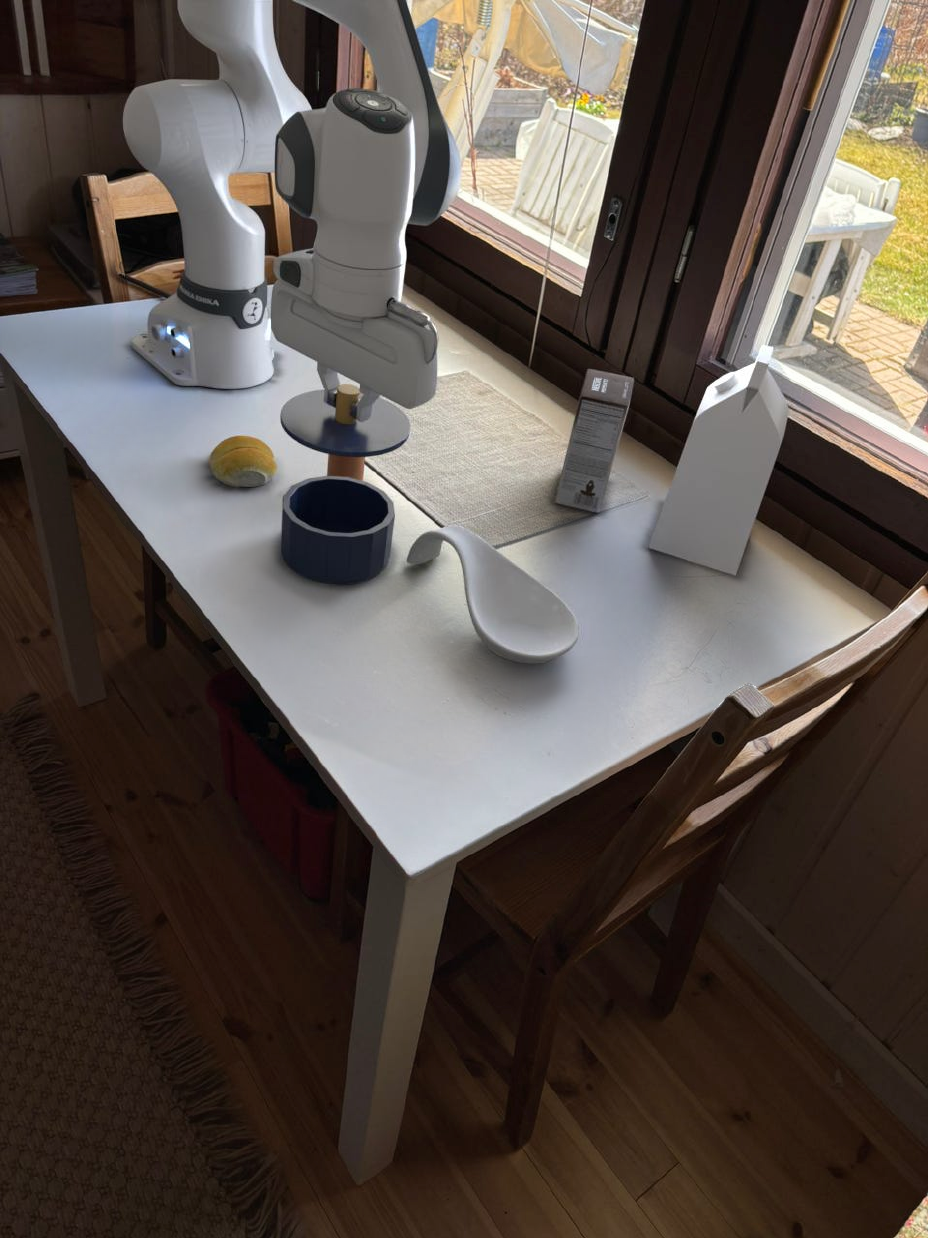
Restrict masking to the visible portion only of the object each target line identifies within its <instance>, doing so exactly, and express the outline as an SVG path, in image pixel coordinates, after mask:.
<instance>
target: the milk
mask: <svg viewBox="0 0 928 1238" xmlns="http://www.w3.org/2000/svg"><path fill="white" fill-rule="evenodd" d="M774 349H775V348H774V347H773V346H770V345H766V344H761V346H760V349H759V352H758V353H757V356H756V359H755V362H753V363H751V364H749V365H747V366H744V367H742V368H740V369H738V370H735V371H730V372H728V373H726V374H724V375H722V376H721V377H719V378H718V379H716V380H714V382H712V383H710V384H709V385H708V386H707V387H706V389H705V392H704V395H703V397H702V400H701V402H700V403H699V406H698V409H697V412H696V415H695V416H694V419H693V422H692V424H691V428H690V430H689V433H688V436H687V438H686V442H685V444H684V447H683V449H682V453H681V455H680V458H679V460H678V463H677V465H676V469H675V471H674V475H673V478H672V480H671V483H670V486H669V489H668V491H667V494H666V497H665V499H664V502H663V505H662V507H661V509H660V513H659V515H658V516H659V517H658V519H657V522H656V524H655V527H654V529H653V533H652V536H651V537H650V540H649V544H648V547H647V548H648V549H650V550H651V549H652V550H654V551H658V552H661V553H664V554H666V555H670V556H673V557H676V558H679V559H683V560H685V561H689V562H692V563H694V564H697V565H700V566H704V567H707V568H711V569H714V570H717V571H720V572H723V573H726V574H729V575H732V576H736V575H737V572H738V569H739V567H740V564H741V561H742V559H743V555H744V552H745V549H746V547H747V544H748V541H749V538H750V536H751V532H752V529H753V527H754V523H755V521H756V518H757V515H758V513H759V509H760V506H761V504H762V501H763V498H764V495H765V492H766V490H767V486H768V484H769V480H770V478H771V475H772V472H773V470H774V466H775V464H776V460H777V457H778V455H779V452H780V449H781V447H782V446H781V445H782V443H783V439H784V437H785V431H786V427H787V422H788V417H789V413H790V408H789V406H788V402H787V399H786V397H785V396H784V394H783V392H782V390H781V388H780V387H779V385H778V384H777V382H776V380H775V378H774V377H773V375H772V374H771V372H770V370H769V368H768V367H769V364H770V361H771V358H772V354H773V351H774Z"/></svg>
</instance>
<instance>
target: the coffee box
mask: <svg viewBox="0 0 928 1238" xmlns="http://www.w3.org/2000/svg"><path fill="white" fill-rule="evenodd" d="M634 382H635V378H634V377H631V376H626V375H622V374H616V373H612V372H608V371H601V370H598V369H592V368H587V370H586V373H585V377H584V380H583V383H582V387H581V390H580V395H579V397H578V398H579V399H578V403H577V407H576V411H575V415H574V419H573V423H572V427H571V433H570V436H569V440H568V444H567V447H566V451H565V456H564V459H563V460H564V461H563V465H562V470H561V473H560V477H559V481H558V486H557V491H556V495H555V500H554V503H555V504H558V505H563V506H566V507H570V508H575V509H579V510H583V511H589V512H593V513H597V514H598V513H600V511H601V508H602V503H603V500H604V497H605V493H606V489H607V486H608V483H609V479H610V475H611V472H612V469H613V466H614V462H615V458H616V455H617V451H618V447H619V445H620V441H621V437H622V434H623V429H624V426H625V422H626V419H627V415H628V411H629V407H630V404H631V399H632V394H633V388H634Z"/></svg>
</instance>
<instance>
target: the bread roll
mask: <svg viewBox="0 0 928 1238" xmlns="http://www.w3.org/2000/svg"><path fill="white" fill-rule="evenodd" d="M274 457H275V456H274V453H273V451H272V449H271V448H270V447H269V445H268V444H266V443H265V442H264V441H263V440H261V439H259V438H257V437H254V436H250V435H234V436H230V437H227V438H225V439H224V440H222V441H221V442H219V444H217V445H216V446H215V447H214V449H212V452H211V453H210V455H209V460H208V464H209V467H210V471H211V473H212V475H213V476H214V477H215V478H216V479H217V480H218V481H219V482H221V483H223V484H225V485H227V486H231V487H239V488H240V487H242V488H255V487H260V486H264V485H265V484H267V483H268V482H269V481H270V480H272V479H273V477H274V476H276V473H277V470H278V467H277V463H276V461H275V458H274Z"/></svg>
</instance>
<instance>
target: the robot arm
mask: <svg viewBox="0 0 928 1238" xmlns="http://www.w3.org/2000/svg"><path fill="white" fill-rule="evenodd" d="M291 1H293V2H295V3H297V4H299V5H303V6H304V7H306V8H308V9H311V10H313V11H314V12H315V11H316V12H317V13H319V14H322V15H323V16H325V17H327V18H328V19H330V20H332V21H334V22H335V23H337V24H338V25H340V26H342V27H343V28H344V29H346V30H347V31H349V32H350V33H351V34H352V35H353V36H354V37H356V39H357V40H358V41H359V42H360V43H361V44H362V46H363V47H364V48H365V51H366V52H367V55H368V56H369V59H370V62H371V66H372V69H373V72H374V75H375V78H376V81H377V85H378V88H379V90H380V91H378V90H374V89H370V88H369V89H368V88H359V87H357V88H345V89H342V90H341V89H340V90H339V91H337V92H335V93H333V94H331V96H330V97H329V99H328V101H327V102H326V106H325V107H322V108H315V109H313V108H312V106H311V104H310V102H309V101H308V98H307V97H306V96H305V95H304V94H303V92H302V91H301V90H299V88H298V87H297V86H296V85H295V84H294V83H293V82H292V80H291V79H290V78H289V76H288V73H286V70H285V68H284V66H283V64H282V61H281V58H280V56H279V55H280V54H279V51H278V48H277V44H276V39H275V33H274V31H275V30H274V19H273V18H274V12H273V11H274V9H273V8H274V7H273V6H274V5H273V2H274V1H273V0H177V11H178V15H179V17H180V20H181V23H182V24H183V26H184V28H185V29H186V30H187V32H188V34H190V35H191V36H192V37H193V38H194V39H195V40H197V41H198V42H199V43H201V44H202V45H203V46H205V47H206V48H207V49H209V50H211V51H212V52H214V53H215V54H216V58H217V61H218V66H219V68H218V69H219V77H218V79H183V78H181V79H180V78H179V79H178V78H175V79H173V78H170V79H165V80H160V81H156V82H151V83H148V84H144V85H143V84H142V85H139V86H136V87H134V89H133V90H132V91H131V93H130V94H129V95H128V97H127V100H126V102H125V104H124V107H123V113H122V129H123V132H124V133H123V134H124V138H125V141H126V144H127V146H128V148H129V150H130V152H131V154H132V155H133V157H134V158H135V159H136V161H137V162H138V163H139V164H140V166H142V167H143V168H144V169H145V170H146V171H148V172H149V173H150V174H152V175H153V176H154V177H156V179H158V180H159V182H160V183H162V185H163V186H164V188H165V189H166V191H167V192H168V194H169V195H170V197H171V199H172V200H173V203H174V206H175V207H176V210H177V214H178V216H179V221H180V228H181V235H182V245H183V247H182V248H183V262H184V263H183V264H184V268H183V269H178V270H174V271H172V272H171V274H175V275H174V276H172V280H179V281H178V285H177V289H176V292H174V293H173V294H170V293H169V292H166V291H164V290H162V289H159V288H157V287H155V286H153V285H151V284H148V283H147V282H144V281H142V280H140V279H137V278H134V277H132V276H130V275H128V274H126V275H125V276H124V275H122V274H119V275H117V276H118V277H119V278H121V279H122V280H124V281H126V282H129V283H131V284H133V285H135V286H138V287H140V288H142V289H145V290H147V291H149V292H151V293H153V294H156V295H158V296H160V297H163V298H164V300H162V301H160V302H159V303H157V304H156V305H154V306H153V307H152V308H151V309H150V311H149V313H148V317H147V331H144V332H142V333H140V334H138V335H136V337H134V338H133V339H132V340H131V348H132V349H133V350H134V351H135V352H137V353H138V354H139V355H140V356H141V357H143V358H144V359H145V360H146V361H147V362H148V363H150V364H151V365H152V366H153V367H154V368H156V370H157V371H159V372H160V373H161V374H163V375H164V376H165V377H166V378H168V380H169V381H170V382H172V383H173V384H175V385H176V386H182V387H190V386H191V387H195V386H198V387H205V388H206V387H207V388H213V389H222V390H223V389H224V390H236V389H246V388H252V387H256V386H259V385H262V384H263V383H266V382H267V381H269V380H270V379H271V378H272V377H273V375H274V373H275V368H274V363H273V360H274V359H275V349H274V348H272V347H271V332H272V334H273V336H274V338H275V340H276V341H277V342H278V343H280V344H282V345H284V346H286V347H288V348H290V349H292V350H293V351H295V352H297V353H299V354H301V355H303V356H305V357H307V358H309V359H311V360H313V361H315V362H317V365H316V371H317V374H318V377H319V379H320V382H321V384H322V387H323V390H324V402H325V403H327V404H328V405H330V406H332V407H334V408H336V398H337V387H338V386H339V385H341V382H340V378H339V374H340V375H342V376H343V377H345V378H347V379H349V380H351V381H353V382H355V383H357V384H359V389H360V390H359V391H360V393H362V394H364V395H363V396H362V398H361V399H359V400H358V401H354V402H351V405H350V409H351V412H350V416H351V417H353V418H354V419H356V420H358V421H360V422H364V421H366V420H368V419H369V418H370V417H371V411H372V404H373V403H374V402H375V401H376V400H377V399H378V397H379V398H380V396H382V397H383V398H385V399H387V400H389V401H391V402H393V403H394V404H397V405H399V406H400V407H403V408H404V409H406V410H413V409H416V408H418V407H421V406H422V405H423V406H424V405H425V404H427V403H429V402H430V401H432V399H433V398H434V397H435V395H436V392H437V385H438V346H439V339H440V337H439V331H438V330H437V329H436V326H435V325H434V324H433V322H432V321H431V319H430V316H429V315H428V314H427V313H425V312H424V311H420V310H416V309H414V308H412V307H411V306H409V305H407V304H406V303H404V302H402V300H403V290H404V282H405V273H406V265H407V264H406V263H407V246H406V230H407V226H408V225H415V226H424V227H427V226H429V225H431V224H433V223H434V222H435V221H436V220H438V219H439V218H440V217H441V216H442V215H443V214H445V212H446V211H447V210H448V209H449V208H450V207H451V206H452V203H453V202H454V201H455V200H456V198H457V196H458V194H459V191H460V188H461V182H462V161H461V156H460V151H459V148H458V145H457V142H456V140H455V137H454V135H453V133H452V131H451V129H450V127H449V125H448V122H447V120H446V119H445V116H444V114H443V112H442V110H441V107H440V104H439V102H438V99H437V96H436V93H435V90H434V85H433V82H432V79H431V76H430V72H429V70H428V67H427V63H426V60H425V56H424V53H423V49H422V46H421V44H420V41H419V37H418V33H417V31H416V28H415V24H414V20H413V17H412V14H411V11H410V8H409V5H408V1H407V0H291ZM270 173H271V174H272V173H274V186H275V190H276V192H277V194H278V195H279V197H281V199H282V200H283V201H284V202H285V203H286V205H288V206H289V208H290V209H292V210H293V211H294V212H296V213H297V214H298V215H299V216H301V217H302V218H305V219H312V220H313V221H315V222H316V225H317V232H316V236H315V239H314V243H313V247H311V248H306V249H301V250H296V251H293V252H289V253H285V254H282V255H279V256H277V257H275V258H274V259H273V275H274V276H275V278H276V280H275V281H274V283H273V286H272V288H271V289H272V290H271V297H270V318H269V314H268V308H267V305H268V293H269V286H268V279H267V276H265V264H266V263H265V262H266V261H265V258H266V230H265V227H264V223H263V222H262V219H261V218H260V216H259V214H257V212H256V211H254V210H253V209H252V208H251V207H249V206H248V205H247V204H246V203H244V202H242V201H240V200H238V199H236V198H234V197H233V196H231V191H230V185H229V179H230V176H232V175H245V174H246V175H247V174H270Z"/></svg>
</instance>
